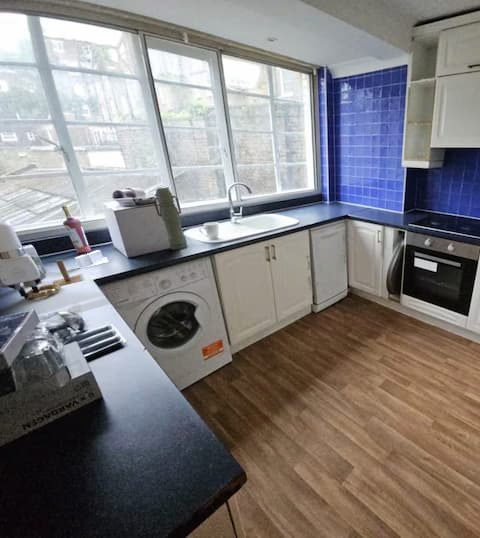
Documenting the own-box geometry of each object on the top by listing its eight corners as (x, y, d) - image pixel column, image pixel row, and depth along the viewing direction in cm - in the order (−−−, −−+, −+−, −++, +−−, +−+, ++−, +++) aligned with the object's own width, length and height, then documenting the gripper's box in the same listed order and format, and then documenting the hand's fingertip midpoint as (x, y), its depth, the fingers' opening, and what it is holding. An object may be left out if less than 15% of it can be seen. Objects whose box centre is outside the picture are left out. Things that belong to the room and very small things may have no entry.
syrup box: (44, 271, 149) (31, 244, 144) (47, 273, 146) (33, 246, 140) (28, 275, 145) (14, 247, 139) (31, 277, 142) (16, 249, 136)
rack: (56, 289, 129) (44, 265, 125) (55, 283, 135) (44, 260, 130) (83, 282, 135) (72, 259, 130) (81, 277, 141) (71, 255, 136)
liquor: (95, 251, 177) (76, 204, 166) (83, 255, 170) (62, 207, 159) (86, 250, 178) (67, 204, 167) (73, 254, 172) (52, 207, 161)
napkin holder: (106, 257, 166) (102, 247, 164) (109, 261, 159) (105, 251, 157) (70, 265, 156) (66, 255, 154) (72, 270, 149) (68, 260, 147)
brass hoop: (27, 301, 116) (25, 297, 115) (27, 293, 122) (25, 289, 121) (62, 292, 122) (60, 288, 122) (60, 285, 129) (58, 281, 128)
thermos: (166, 247, 178) (148, 188, 164) (188, 243, 185) (172, 186, 171) (169, 251, 172) (151, 190, 158) (191, 246, 179) (175, 187, 165)
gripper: (-24, 262, 105) (1, 306, 112) (40, 251, 115) (59, 292, 123) (-21, 257, 110) (2, 300, 117) (39, 246, 120) (58, 287, 127)
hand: (31, 295), depth 120 cm, fingers closed on brass hoop, 2 cm apart
